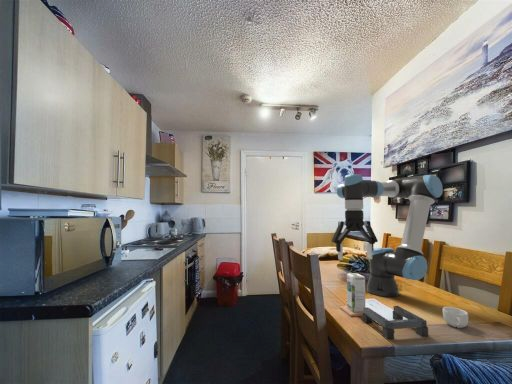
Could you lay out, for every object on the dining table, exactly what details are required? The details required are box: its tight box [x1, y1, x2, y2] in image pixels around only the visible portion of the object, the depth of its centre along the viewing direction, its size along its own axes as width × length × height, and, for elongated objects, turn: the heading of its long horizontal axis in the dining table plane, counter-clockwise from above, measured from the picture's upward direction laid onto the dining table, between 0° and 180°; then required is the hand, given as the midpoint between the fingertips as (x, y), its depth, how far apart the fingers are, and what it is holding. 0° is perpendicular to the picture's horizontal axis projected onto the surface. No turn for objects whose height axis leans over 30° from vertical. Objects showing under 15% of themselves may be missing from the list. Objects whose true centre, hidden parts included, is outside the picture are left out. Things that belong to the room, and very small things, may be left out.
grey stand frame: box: [362, 305, 429, 340], centre depth 93 cm, size 16×14×5 cm
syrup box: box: [346, 272, 366, 312], centre depth 109 cm, size 6×6×14 cm
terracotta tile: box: [339, 305, 364, 317], centre depth 108 cm, size 10×9×1 cm
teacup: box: [442, 306, 469, 329], centre depth 95 cm, size 10×8×5 cm
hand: (355, 259), depth 110 cm, fingers open, 13 cm apart
